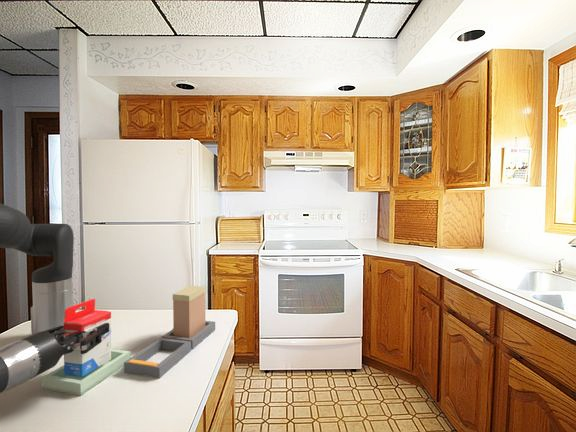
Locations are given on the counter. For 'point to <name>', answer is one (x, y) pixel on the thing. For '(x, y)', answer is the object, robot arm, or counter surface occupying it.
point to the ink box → (85, 321)
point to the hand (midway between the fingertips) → (98, 325)
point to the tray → (85, 383)
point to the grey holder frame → (167, 342)
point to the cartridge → (189, 311)
